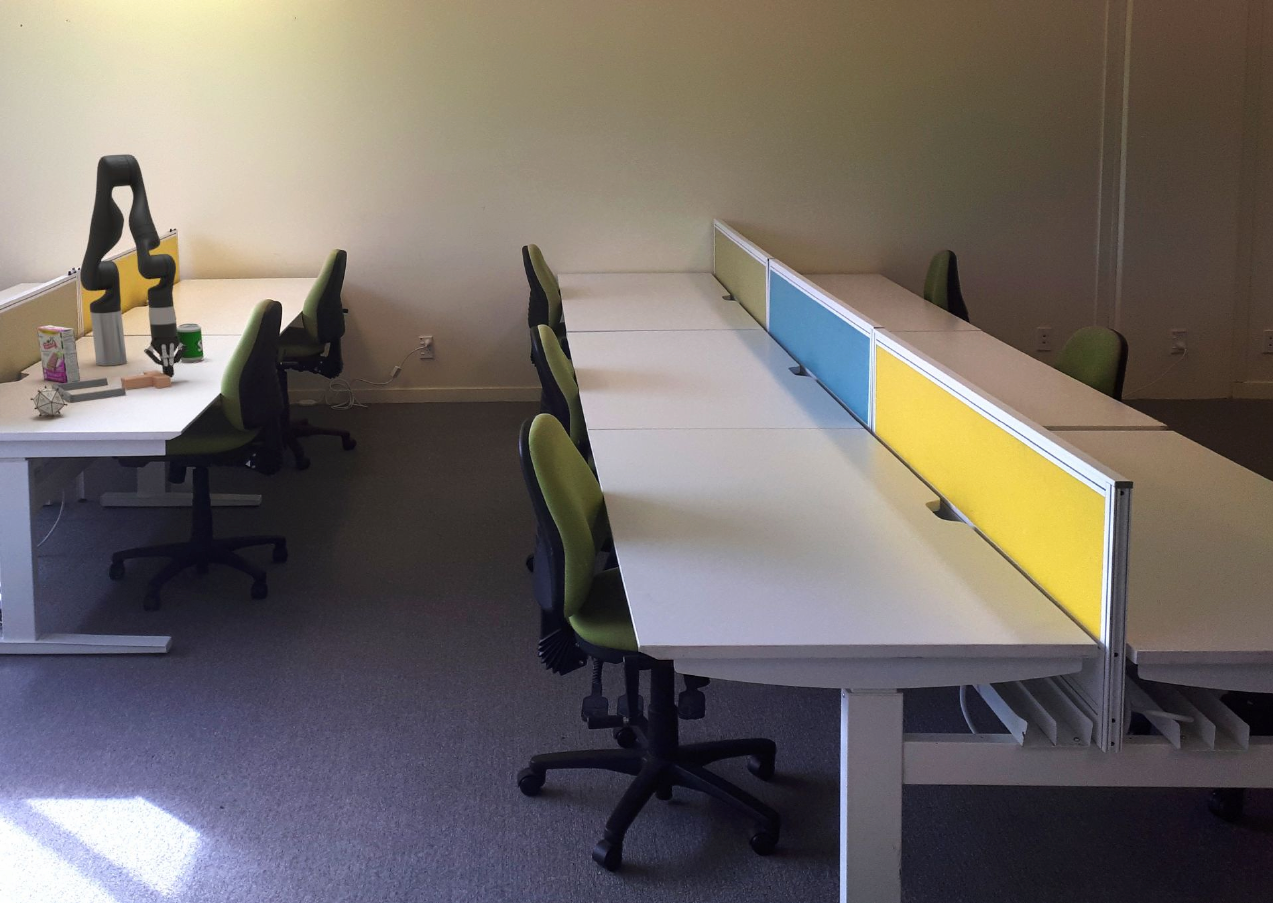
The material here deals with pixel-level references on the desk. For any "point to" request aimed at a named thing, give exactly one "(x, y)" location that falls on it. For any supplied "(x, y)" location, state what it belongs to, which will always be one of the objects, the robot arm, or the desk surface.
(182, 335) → the soda can
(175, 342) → the robot arm
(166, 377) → the T block
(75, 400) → the charcoal bay
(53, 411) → the game die
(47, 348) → the candy bar box
